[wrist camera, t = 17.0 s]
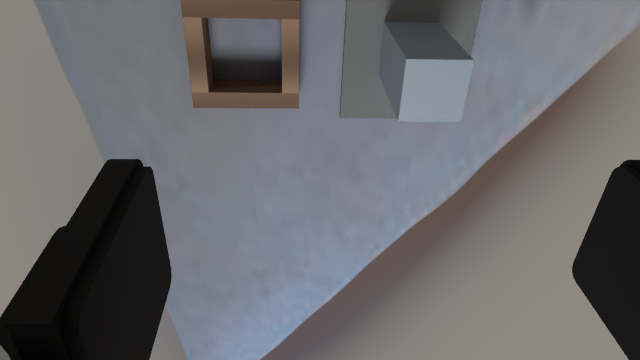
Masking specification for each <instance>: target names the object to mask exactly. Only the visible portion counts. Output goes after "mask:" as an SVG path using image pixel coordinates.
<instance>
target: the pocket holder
mask: <svg viewBox="0 0 640 360" xmlns="http://www.w3.org/2000/svg"><path fill="white" fill-rule="evenodd" d="M181 7H182V16H183V24H184V32H185V40H186V49H187V57H188V65H189V73H190V82H191V90H192V98H193V106H194V108H299V0H181ZM207 18H253V19H281V34H282V81H258V80H213V73H212V62H211V52H210V41H209V30H208V20H207Z"/></svg>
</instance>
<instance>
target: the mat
mask: <svg viewBox="0 0 640 360" xmlns="http://www.w3.org/2000/svg"><path fill="white" fill-rule="evenodd" d="M481 3H482V0H347V2H346V19H345V36H344V53H343V70H342V87H341V104H340V118H397V117H396V115H395V113H394V110H393V108H392V105H391V103H390V101H389V98H388V96H387V93H386V91H385V89H384V86H383V84H382V81H381V79H380V77H379V68H380V58H381V48H382V38H383V28H384V22H433V23H440V24H441V25H442V26H443V27H444V29H445V30H446V31H447V32H448V33H449V34H450V35H451V36H452V37H453V38H454V39H455V40H456V41H457V42H458V44H459V45H460V46H461V47H462V48H463V49H464V50H465V51H466V52H467V53H468V54H469V55H470V56H471V52H472V47H473V42H474V37H475V32H476V27H477V22H478V17H479V13H480V8H481Z"/></svg>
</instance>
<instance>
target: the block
mask: <svg viewBox="0 0 640 360" xmlns="http://www.w3.org/2000/svg"><path fill="white" fill-rule="evenodd" d="M473 62H474V60H473V58H472V57H471V56H470V55H469V54H468V53H467V52H466V51H465V50H464V49H463V48H462V47H461V46H460V45H459V44H458V42H457V41H456V40H455V39H454V38H453V37H452V36H451V35H450V34H449V33H448V32H447V31H446V30H445V29H444V27H443V26H442V25H441V24H440V23H433V22H384V28H383V38H382V48H381V58H380V68H379V77H380V79H381V81H382V84H383V86H384V89H385V91H386V93H387V96H388V98H389V101H390V103H391V105H392V108H393V110H394V113H395V115H396V117H397V120H398V121H402V122H461V119H462V115H463V110H464V105H465V100H466V95H467V91H468V86H469V81H470V76H471V71H472V67H473Z"/></svg>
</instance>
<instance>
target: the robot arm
mask: <svg viewBox="0 0 640 360" xmlns="http://www.w3.org/2000/svg"><path fill="white" fill-rule="evenodd" d="M572 271H573V277H574V279H575V281H576V283H577V284H578V286H579V287H580V289H581V290H582V292H583V293H584V294H585V296H586V297H587V299H588V300H589V302H590V303H591V305H592V306H593V308H594V309H595V310H596V312H597V313H598V315H599V316H600V318H601V319H602V321H603V322H604V324H605V325H606V327H607V328H608V330H609V331H610V333H611V334H612V335H613V337H614V338H615V340H616V341H617V343H618V344H619V346H620V347H621V348H622V350H623V351H624V353H625V355H626V356H627V357H628V359H629V360H640V160H627V161H625V162H623V163H622V164H621V165H620V167H617V168H615V169H614V170H613V172H612V174H611V176H610V178H609V180H608V183H607V185H606V188H605V190H604V192H603V194H602V197H601V199H600V201H599V204H598V206H597V208H596V211H595V213H594V216H593V218H592V220H591V223H590V225H589V227H588V230H587V232H586V234H585V237H584V239H583V241H582V244H581V246H580V248H579V251H578V253H577V256H576V258H575V260H574V263H573V267H572ZM170 284H171V266H170V260H169V255H168V249H167V244H166V239H165V233H164V228H163V222H162V217H161V212H160V206H159V201H158V196H157V190H156V185H155V179H154V174H153V170H152V168H151V167H143V164H142V162H141V161H140V160H139V159H110V160H107V162H106V163H105V164H104V166H103V168H102V169H101V171H100V172H99V174H98V176H97V177H96V179H95V181H94V182H93V184H92V185H91V187H90V188H89V190H88V192H87V193H86V195H85V197H84V198H83V200H82V201H81V203H80V205H79V206H78V208H77V209H76V211H75V213H74V214H73V216H72V217H71V219H70V221H69V222H68V224H67V225H66V226H63V227H61V228H59V229H58V230H57V231H56V232H55V233H54V235H53V236H52V238H51V239H50V241H49V242H48V244H47V246H46V247H45V249H44V250H43V252H42V253H41V255H40V256H39V258H38V260H37V261H36V263H35V264H34V266H33V268H32V269H31V270H30V272H29V274H28V275H27V277H26V278H25V280H24V281H23V283H22V285H21V286H20V288H19V289H18V291H17V292H16V294H15V295H14V297H13V298H12V300H11V302H10V303H9V305H8V306H7V308H6V309H5V311H4V312H3V314H2V316H1V317H0V360H149V358H150V355H151V351H152V348H153V344H154V341H155V337H156V334H157V330H158V327H159V323H160V320H161V316H162V313H163V309H164V306H165V303H166V299H167V296H168V292H169V289H170Z"/></svg>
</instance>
